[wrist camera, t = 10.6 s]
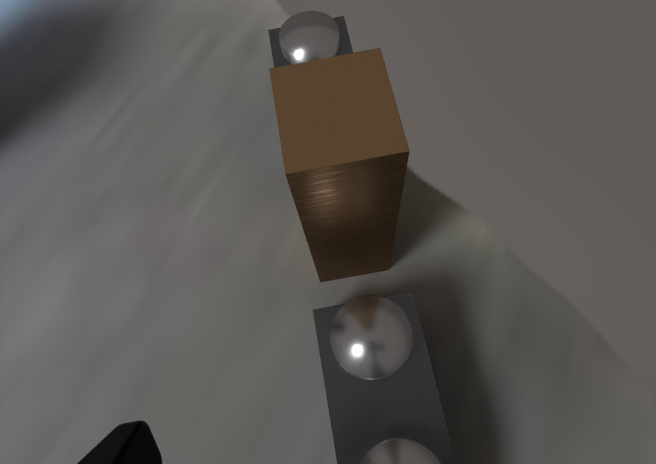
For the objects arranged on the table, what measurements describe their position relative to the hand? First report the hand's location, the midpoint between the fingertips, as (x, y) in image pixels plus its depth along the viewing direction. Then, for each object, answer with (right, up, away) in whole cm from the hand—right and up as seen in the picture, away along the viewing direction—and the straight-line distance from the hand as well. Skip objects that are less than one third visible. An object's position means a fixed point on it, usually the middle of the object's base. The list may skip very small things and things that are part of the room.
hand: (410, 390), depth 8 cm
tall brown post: (0, +2, +14) cm, 14 cm away
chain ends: (0, +2, +14) cm, 14 cm away
